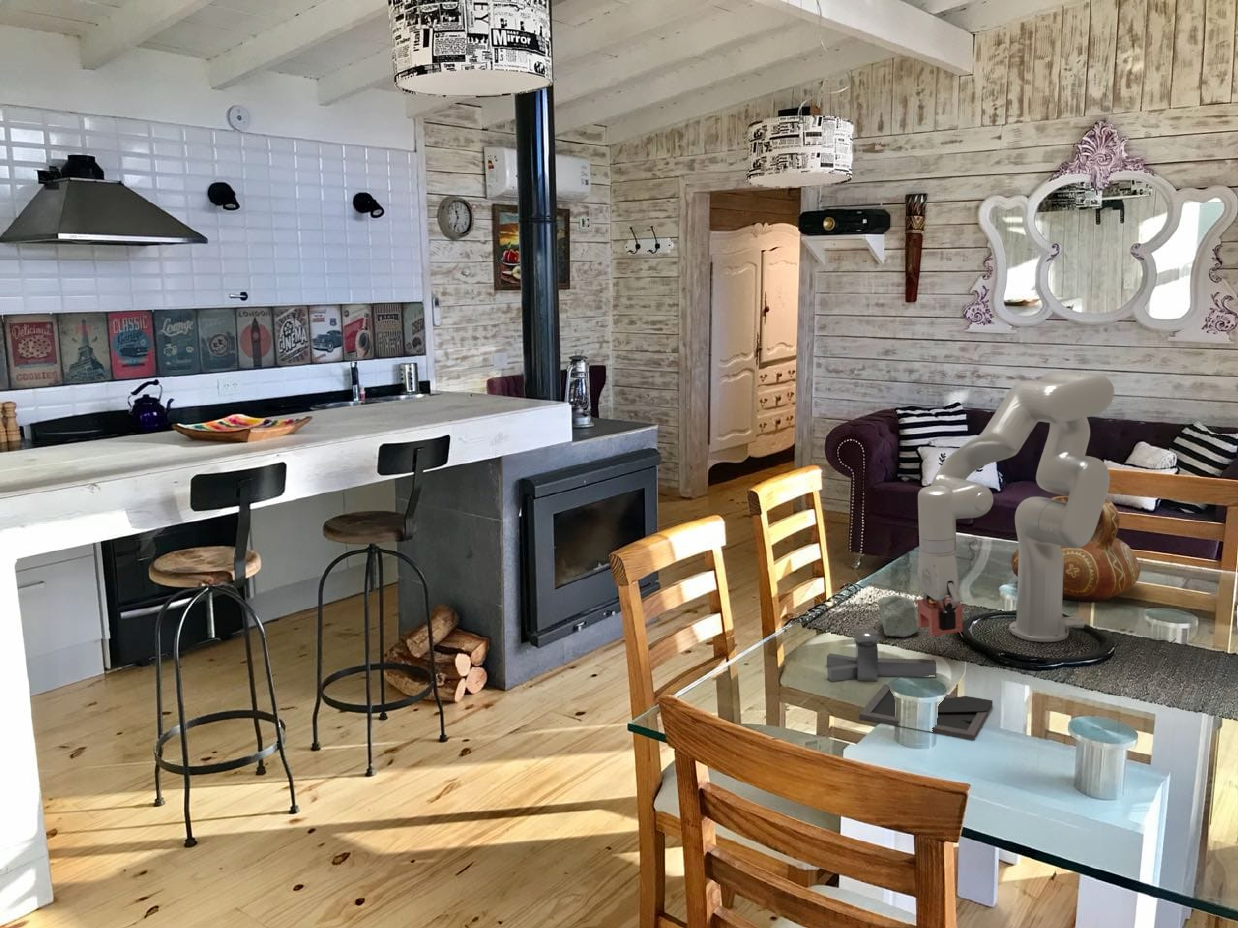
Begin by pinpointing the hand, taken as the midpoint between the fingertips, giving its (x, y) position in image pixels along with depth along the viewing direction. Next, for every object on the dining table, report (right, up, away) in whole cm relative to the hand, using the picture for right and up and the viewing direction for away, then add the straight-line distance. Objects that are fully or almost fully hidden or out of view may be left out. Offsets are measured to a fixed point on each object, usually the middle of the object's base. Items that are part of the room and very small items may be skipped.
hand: (940, 622), depth 225 cm
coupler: (-14, -10, -7) cm, 19 cm away
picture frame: (-11, -14, -26) cm, 32 cm away
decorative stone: (-4, -5, +18) cm, 19 cm away
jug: (+47, +2, +42) cm, 63 cm away
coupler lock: (0, -1, 0) cm, 1 cm away
